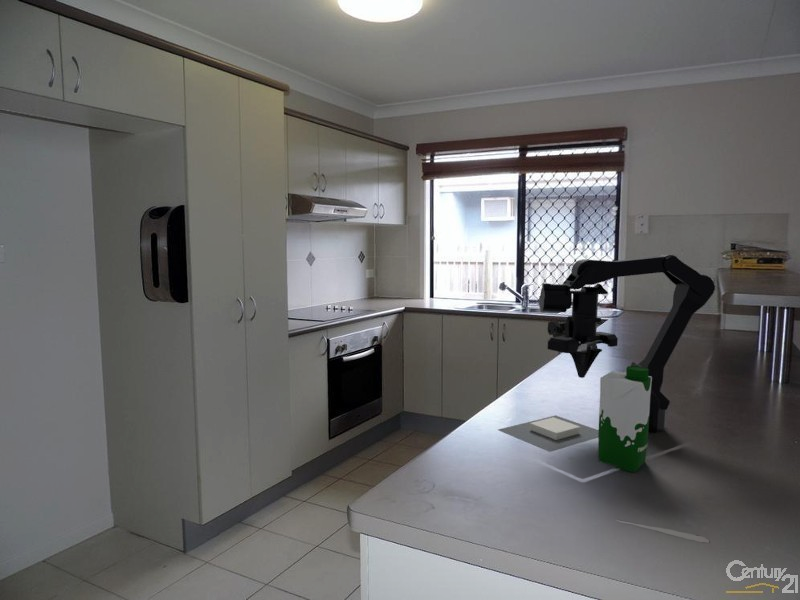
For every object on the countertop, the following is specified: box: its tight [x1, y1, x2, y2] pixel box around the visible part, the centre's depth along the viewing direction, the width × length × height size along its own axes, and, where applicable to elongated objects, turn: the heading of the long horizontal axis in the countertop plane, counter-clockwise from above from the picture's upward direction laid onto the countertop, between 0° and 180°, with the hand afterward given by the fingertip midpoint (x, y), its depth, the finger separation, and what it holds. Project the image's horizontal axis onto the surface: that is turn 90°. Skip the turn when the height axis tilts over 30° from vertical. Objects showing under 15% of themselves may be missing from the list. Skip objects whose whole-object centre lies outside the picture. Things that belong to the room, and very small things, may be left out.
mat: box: [497, 415, 599, 453], centre depth 128 cm, size 16×20×1 cm
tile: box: [530, 417, 580, 440], centre depth 128 cm, size 8×2×8 cm
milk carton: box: [597, 365, 652, 473], centre depth 111 cm, size 9×9×20 cm
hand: (581, 377), depth 132 cm, fingers closed
